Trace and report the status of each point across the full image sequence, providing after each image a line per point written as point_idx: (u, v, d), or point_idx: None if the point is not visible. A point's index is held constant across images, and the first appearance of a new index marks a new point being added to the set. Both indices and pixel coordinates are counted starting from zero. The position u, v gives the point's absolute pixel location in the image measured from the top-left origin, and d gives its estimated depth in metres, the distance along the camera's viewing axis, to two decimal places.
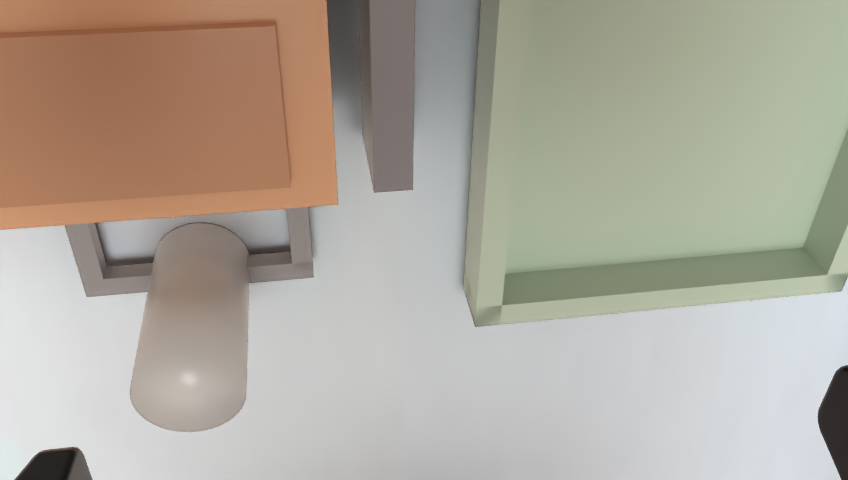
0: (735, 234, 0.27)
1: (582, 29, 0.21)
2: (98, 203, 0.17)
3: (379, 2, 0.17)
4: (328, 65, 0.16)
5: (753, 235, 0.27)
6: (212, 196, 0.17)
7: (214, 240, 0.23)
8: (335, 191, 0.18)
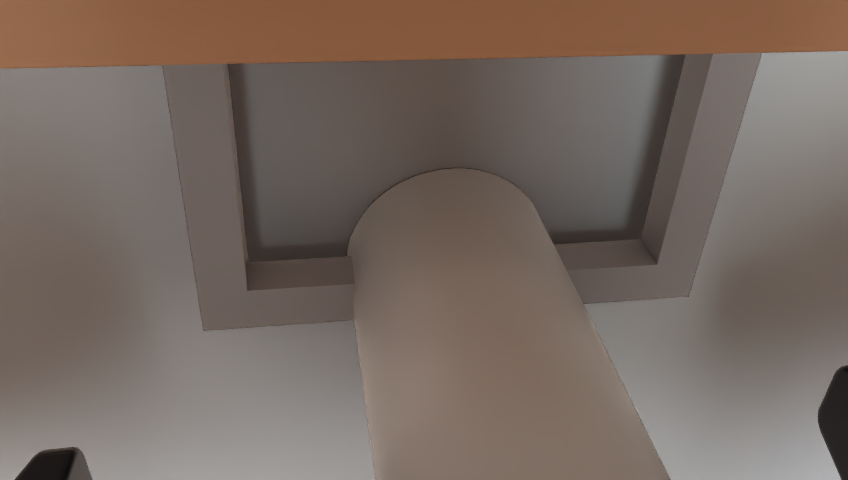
0: None
1: None
2: None
3: None
4: None
5: None
6: None
7: (507, 206, 0.10)
8: None
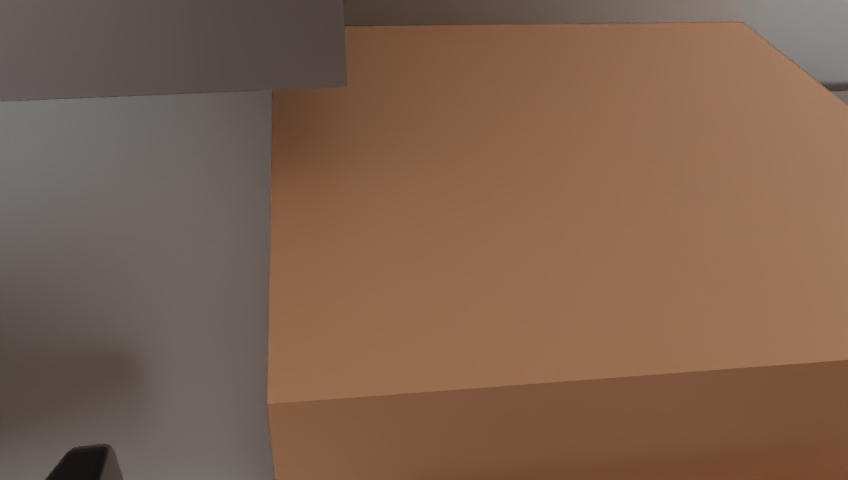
0: None
1: None
2: None
3: None
4: (588, 380, 0.04)
5: None
6: None
7: None
8: None
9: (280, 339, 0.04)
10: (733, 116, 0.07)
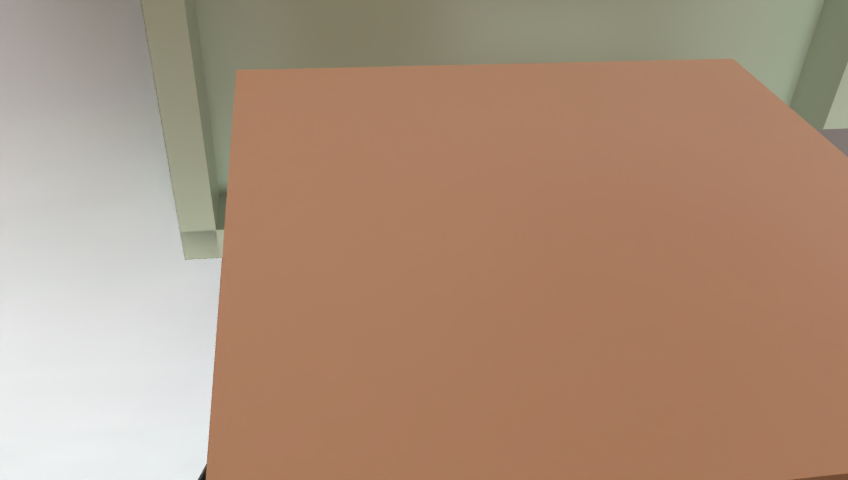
0: None
1: None
2: None
3: None
4: None
5: None
6: None
7: None
8: None
9: (221, 458, 0.04)
10: (724, 170, 0.06)
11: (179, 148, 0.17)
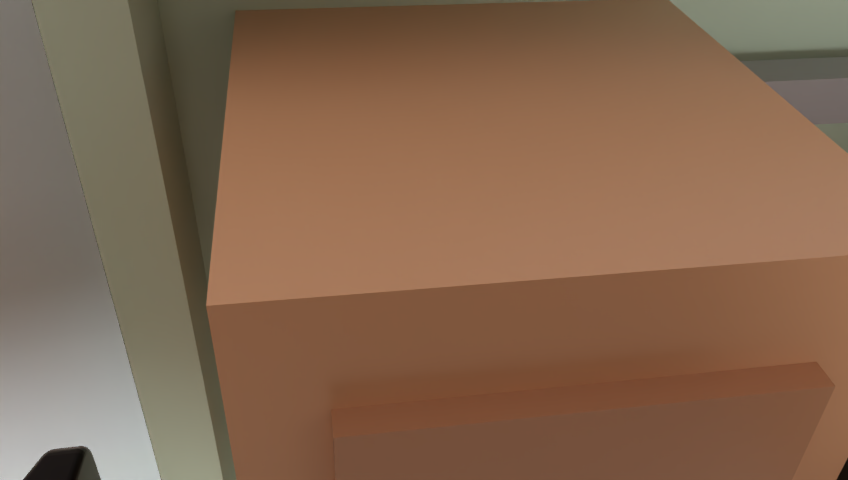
0: None
1: None
2: None
3: None
4: (478, 285, 0.05)
5: None
6: None
7: None
8: None
9: (221, 258, 0.05)
10: (642, 79, 0.08)
11: None
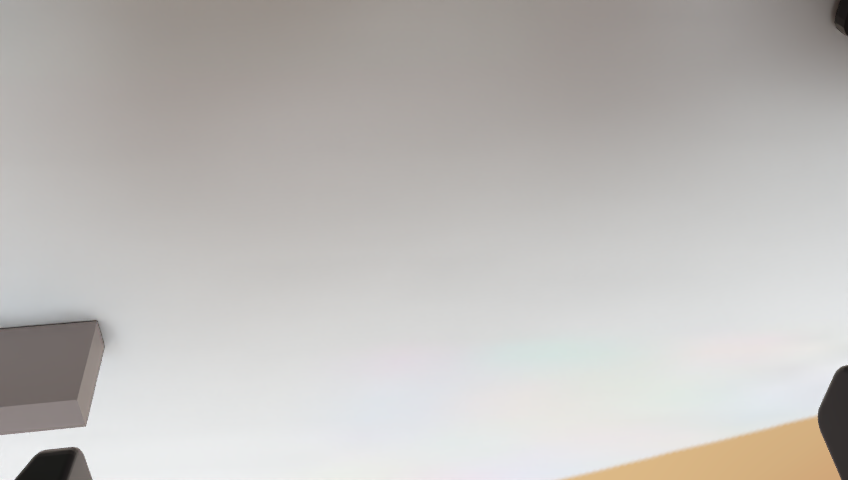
0: None
1: None
2: None
3: None
4: None
5: None
6: None
7: None
8: None
9: None
10: None
11: None
